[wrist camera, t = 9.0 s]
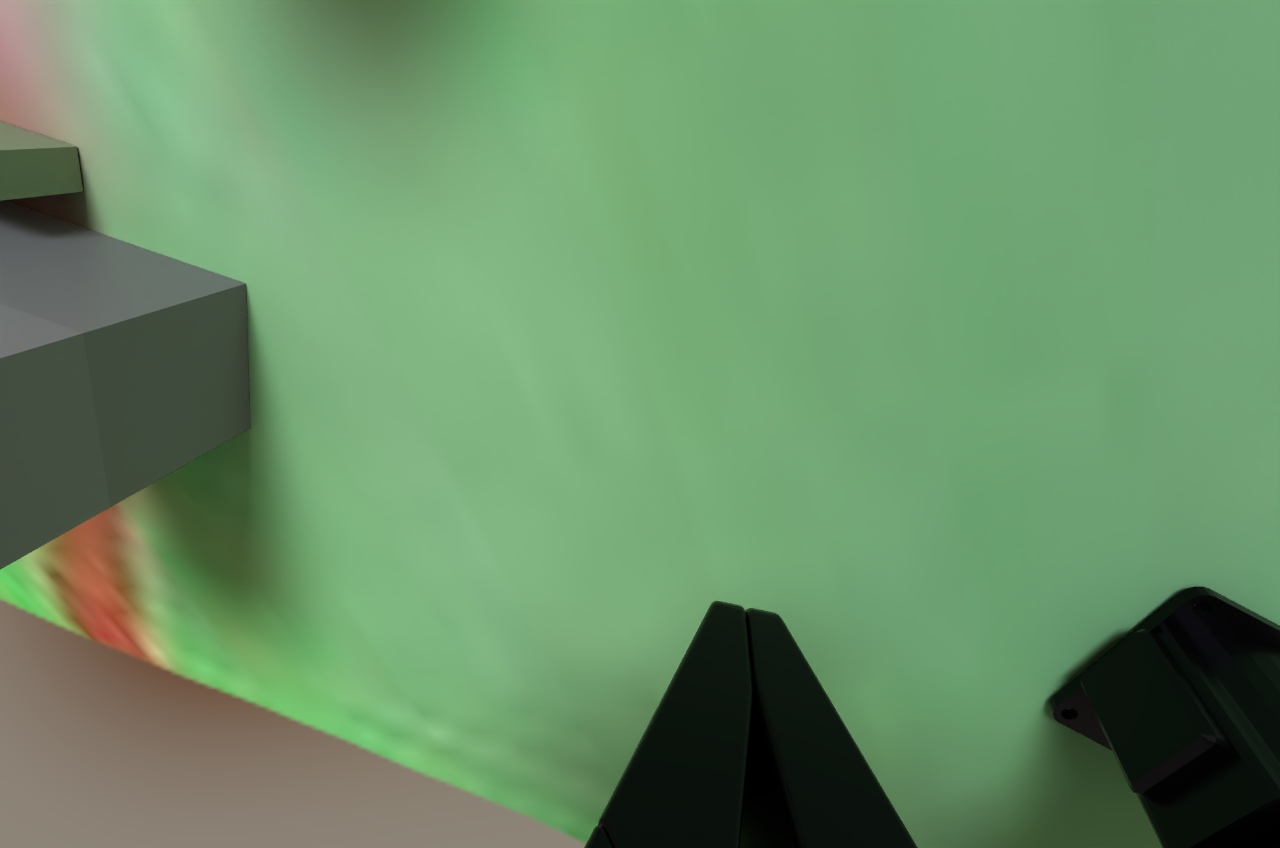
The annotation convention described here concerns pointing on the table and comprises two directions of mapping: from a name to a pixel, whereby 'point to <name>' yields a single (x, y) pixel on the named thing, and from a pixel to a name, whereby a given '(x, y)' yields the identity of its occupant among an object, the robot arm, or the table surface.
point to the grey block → (106, 372)
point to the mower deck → (36, 165)
